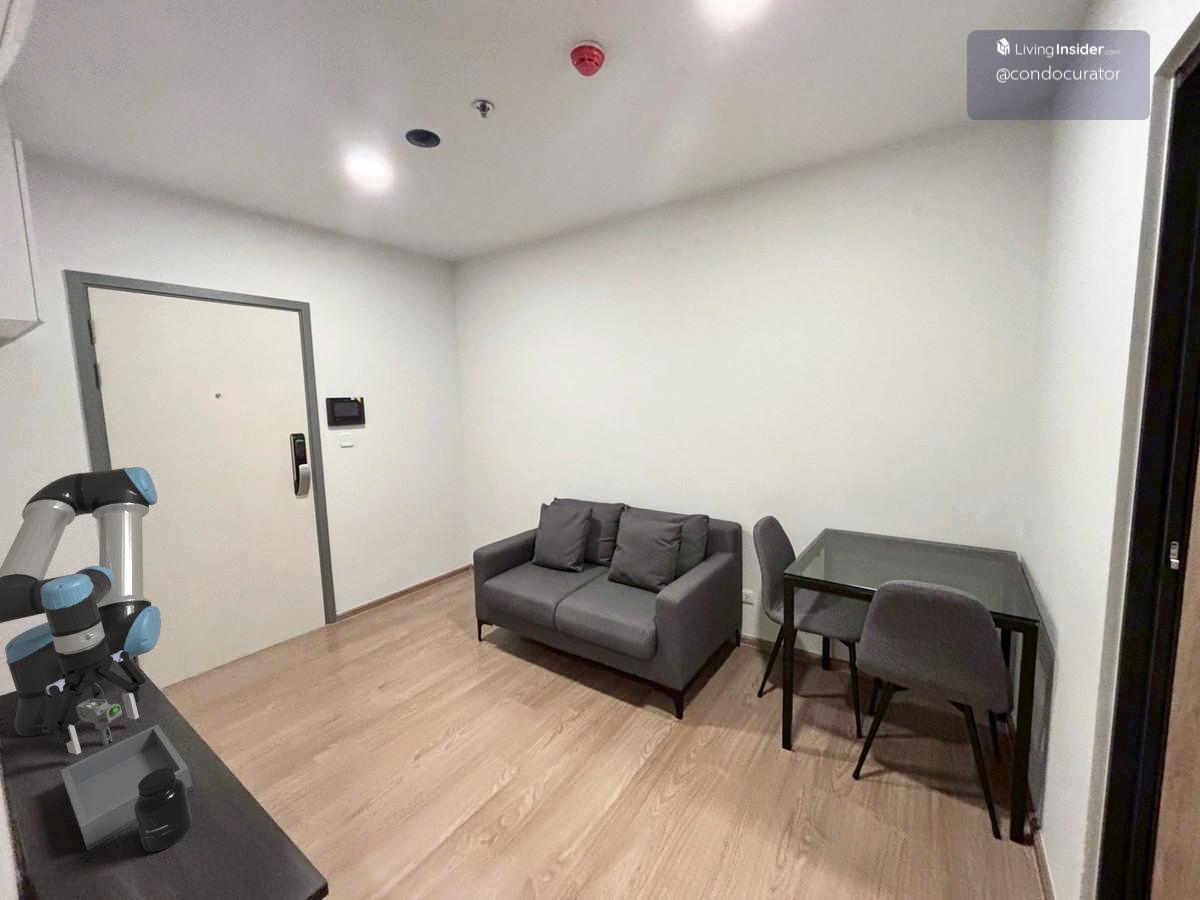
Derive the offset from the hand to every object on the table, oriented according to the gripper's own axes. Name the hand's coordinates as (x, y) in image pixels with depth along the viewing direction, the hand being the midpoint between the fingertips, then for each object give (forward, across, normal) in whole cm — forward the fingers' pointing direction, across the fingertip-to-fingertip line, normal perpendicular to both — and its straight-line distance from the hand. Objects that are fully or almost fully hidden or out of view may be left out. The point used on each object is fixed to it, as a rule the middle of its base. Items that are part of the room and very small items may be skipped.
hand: (105, 734), depth 112 cm
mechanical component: (+2, 0, 0) cm, 2 cm away
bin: (+2, -8, -21) cm, 23 cm away
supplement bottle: (+2, -13, -40) cm, 42 cm away
